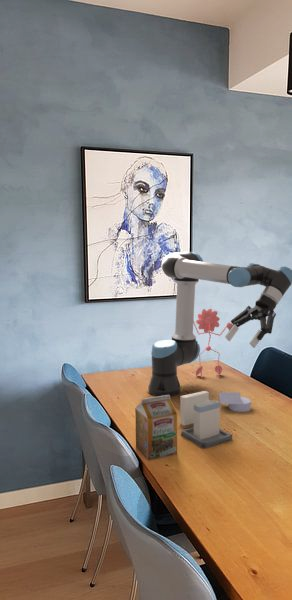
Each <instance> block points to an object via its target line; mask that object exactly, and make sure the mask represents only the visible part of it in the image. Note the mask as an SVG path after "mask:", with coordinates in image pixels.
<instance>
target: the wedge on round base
mask: <svg viewBox="0 0 292 600" xmlns="http://www.w3.org/2000/svg"><path fill="white" fill-rule="evenodd" d="M218 399H219V402H220V405H223V404H226V405H228V408H229V409H230V410H231V411H233V412H237V413H239V412H240V413H241V412H243V413H244V412H249V411H251V409H252V408H251V407H252V406H251V405H252V404H251V403H252V400H251V399H250V398H248V397H244V396H241V392H237V391H236V392H235V391H233V392H227V391H226V392H222V391H221V392H219V395H218Z"/></svg>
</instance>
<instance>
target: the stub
mask: <svg viewBox="0 0 292 600" xmlns="http://www.w3.org/2000/svg"><path fill="white" fill-rule="evenodd" d="M220 408H221V403H220V401H219V400H215V399H209V401H205V402H201V403H197V404H194V426H193V427H194V436H195V437H197V438H198V439H200V440H202V439H205V438H208V437H212V436H215V435H218V434H219V428H220V412H221V411H220Z"/></svg>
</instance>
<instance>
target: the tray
mask: <svg viewBox="0 0 292 600" xmlns="http://www.w3.org/2000/svg"><path fill="white" fill-rule="evenodd" d="M180 436H182V437H184V438H185V439H187V440H188V441H190V442H192V443H193V444H195V445H197V446H198V447H200V448H202V449H203V450H204V449H207V448H210V447H214V446H217V445H220V444H223V443H226V442H227V443H228V442H229V441H233V434H231V433H229V432H228V431H225V430H224V429H222V428H220V427H219V434H218V435H215V436H212V437H208V438H205V439H202V440H200V439H198V438H197V437H195V436H194V426H193V427H189V428H186V429H181V433H180Z"/></svg>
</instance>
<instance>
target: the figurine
mask: <svg viewBox="0 0 292 600" xmlns="http://www.w3.org/2000/svg"><path fill="white" fill-rule="evenodd" d="M217 315H218V311H217V310H213V309H212V308H209V309H207V310H206V309H205V308H204V309H203V308H202V310H201V313H198V314H197V320H196V321H194V320H193V326H194V327H195V330H196V332H197V334H198V335H204V334H208V335H209V338H208V343H207V345H206V347H205V349H204V350H203V351H202V352H200V353H199V356H198V358H199V359H198V360H199V361H201V355H202V354H203V353H204V352H205V351H207V352H210V351H213V352H215V353H217V354H218V358H217V365H216V366H214V371H215V373H216V374H217V375H218V378H219V379H220V378H221V376H220V375H221V373H222V372H223V367H222V366H221V365H219V362H220V353H219V352H218V351H217V350H215V349H212V347H211V346H210V342H211V338H212V337H211V336H212V335H215V336H218V337H221V336H222V335H223V333H224V331H225V330H226V329H228V330H229V329H230V328H231V327H232V325H233V324H232V323H231V322H228V323H226V326H225V327H223V330H222V331H221V332H220V334H219V333H216V332H214V331H215V328H219V327H220V322H219V321H220V318H221V317H219V316H217ZM195 322H196V323H195ZM196 324H197V325H198V328H197V325H196ZM198 329H199V330H203V332H199V330H198ZM211 334H212V335H211ZM203 367H204V366H203V365H201V364H199V367H198V368H197V369H196V371H194V370H193V371H191V372H188V374H191V373H194V372H195V376H198V375H199V374H200V378H201V379H203V373H202V372H205V371H209V372H210V371H211V372H212V370H210V369H209V370H204V369H203Z"/></svg>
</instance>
